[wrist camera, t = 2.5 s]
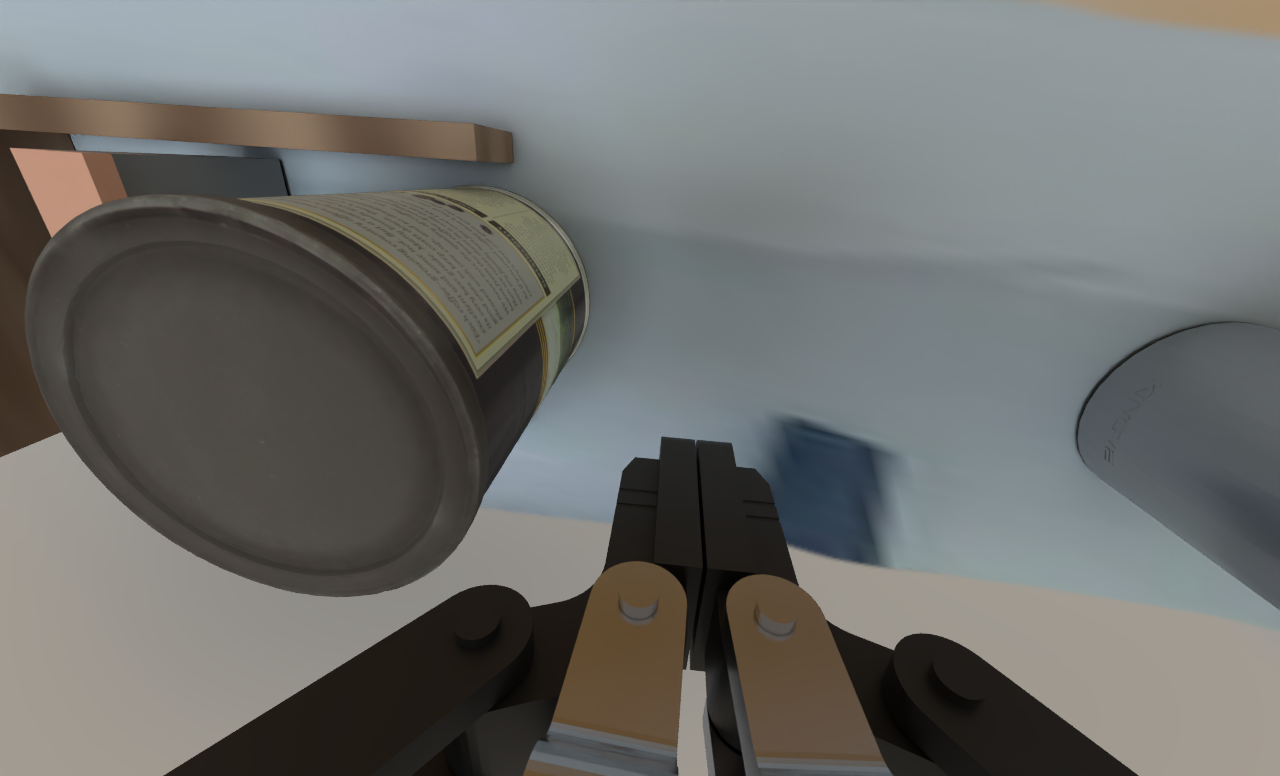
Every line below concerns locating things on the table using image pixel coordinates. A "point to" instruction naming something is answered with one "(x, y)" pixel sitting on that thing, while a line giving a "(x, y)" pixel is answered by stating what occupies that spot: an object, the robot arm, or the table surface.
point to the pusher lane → (10, 220)
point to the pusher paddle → (136, 178)
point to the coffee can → (305, 368)
